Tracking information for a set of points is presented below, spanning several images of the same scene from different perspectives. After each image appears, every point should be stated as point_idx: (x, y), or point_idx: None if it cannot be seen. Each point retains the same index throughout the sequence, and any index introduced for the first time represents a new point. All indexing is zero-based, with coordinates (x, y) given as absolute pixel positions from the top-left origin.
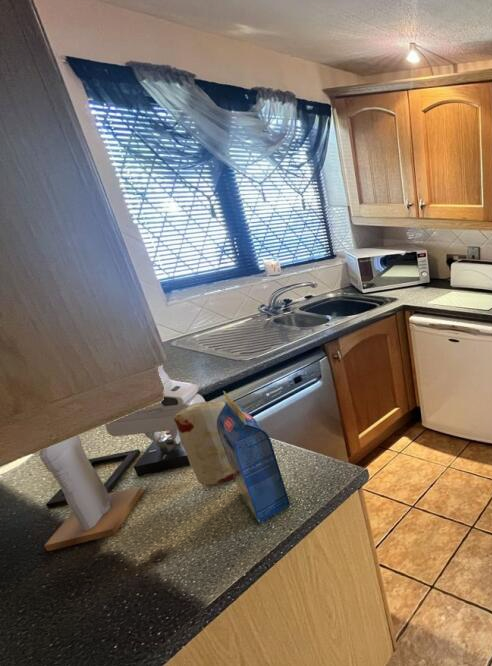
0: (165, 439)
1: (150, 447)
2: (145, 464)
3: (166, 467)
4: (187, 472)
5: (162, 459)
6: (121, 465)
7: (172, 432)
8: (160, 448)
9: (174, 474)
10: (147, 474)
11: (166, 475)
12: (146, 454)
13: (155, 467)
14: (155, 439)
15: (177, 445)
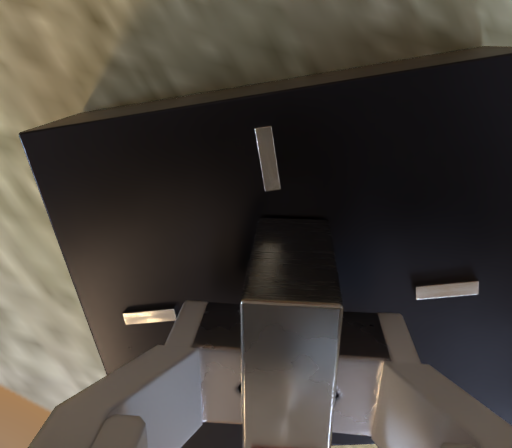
0: (246, 339)
1: (497, 355)
2: (420, 68)
3: (257, 87)
4: (70, 12)
5: (268, 117)
6: None
7: (113, 426)
8: (320, 249)
9: (169, 8)
10: (410, 59)
11: (233, 9)
12: (489, 253)
13: (337, 75)
14: (401, 379)
15: None
